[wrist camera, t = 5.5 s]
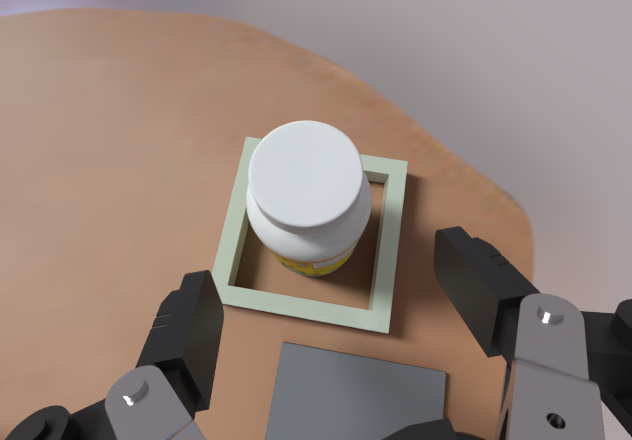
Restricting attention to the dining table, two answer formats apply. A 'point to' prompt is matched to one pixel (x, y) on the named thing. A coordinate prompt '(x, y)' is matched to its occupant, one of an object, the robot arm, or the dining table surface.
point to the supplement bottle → (308, 196)
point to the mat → (349, 396)
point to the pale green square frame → (292, 306)
